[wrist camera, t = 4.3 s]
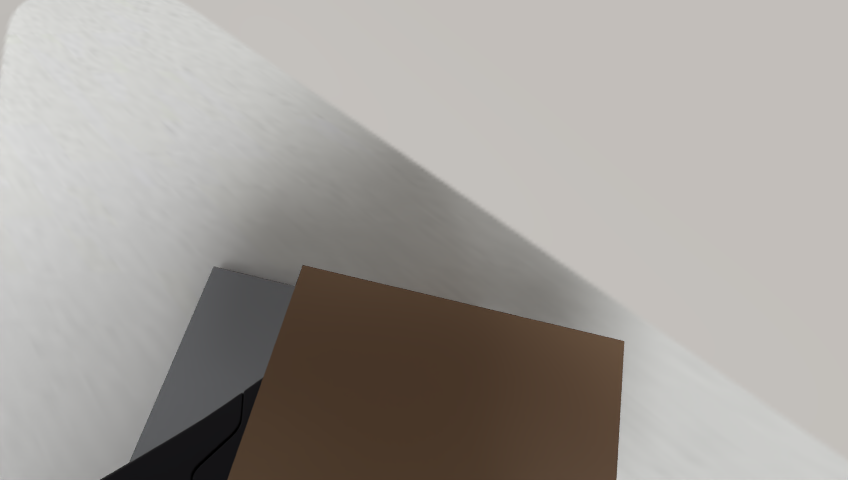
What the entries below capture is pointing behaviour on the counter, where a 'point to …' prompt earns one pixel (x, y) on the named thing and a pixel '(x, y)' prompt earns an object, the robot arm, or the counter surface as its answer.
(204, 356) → the rubber mat
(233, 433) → the robot arm
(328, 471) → the walnut block
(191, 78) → the counter surface
